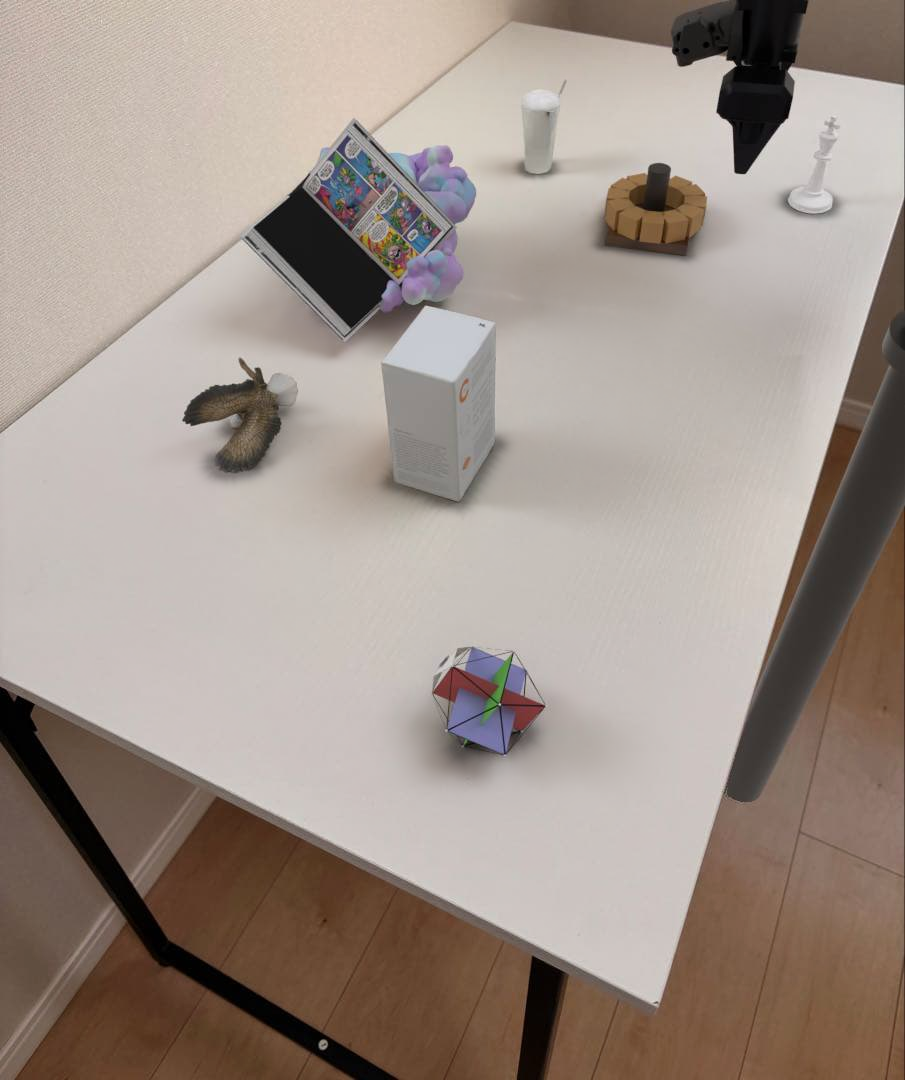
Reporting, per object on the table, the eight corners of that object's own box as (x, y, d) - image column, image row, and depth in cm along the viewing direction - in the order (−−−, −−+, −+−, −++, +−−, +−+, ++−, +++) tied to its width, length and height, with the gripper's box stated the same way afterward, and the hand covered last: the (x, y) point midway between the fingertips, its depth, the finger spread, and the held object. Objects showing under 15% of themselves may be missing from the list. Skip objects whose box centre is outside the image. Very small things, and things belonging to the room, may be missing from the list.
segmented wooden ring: (704, 197, 108) (708, 177, 106) (700, 247, 101) (704, 227, 99) (610, 188, 109) (612, 169, 108) (599, 238, 103) (602, 217, 101)
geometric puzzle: (574, 681, 64) (507, 611, 60) (556, 770, 60) (483, 701, 56) (492, 697, 68) (424, 633, 65) (469, 781, 64) (395, 718, 60)
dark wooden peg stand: (695, 213, 108) (706, 153, 102) (686, 255, 102) (697, 193, 97) (617, 204, 109) (624, 144, 104) (604, 245, 104) (610, 183, 98)
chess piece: (804, 187, 111) (828, 102, 103) (840, 203, 108) (867, 117, 101) (779, 202, 109) (801, 116, 101) (814, 218, 106) (840, 131, 99)
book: (472, 177, 105) (379, 41, 92) (533, 275, 90) (432, 129, 78) (331, 287, 110) (225, 172, 97) (367, 396, 95) (247, 277, 83)
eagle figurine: (222, 384, 87) (166, 432, 81) (253, 334, 83) (197, 380, 76) (286, 438, 88) (236, 489, 82) (321, 391, 84) (271, 441, 77)
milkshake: (568, 171, 115) (574, 87, 107) (528, 180, 114) (532, 96, 106) (552, 154, 118) (557, 72, 110) (513, 163, 116) (515, 80, 109)
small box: (431, 424, 85) (425, 302, 75) (496, 443, 83) (498, 320, 73) (391, 483, 80) (378, 361, 70) (459, 504, 78) (456, 382, 69)
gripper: (696, -61, 89) (674, 104, 101) (670, 10, 78) (648, 188, 89) (818, -56, 87) (781, 113, 99) (811, 18, 75) (769, 201, 87)
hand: (743, 151), depth 93 cm, fingers open, 9 cm apart
